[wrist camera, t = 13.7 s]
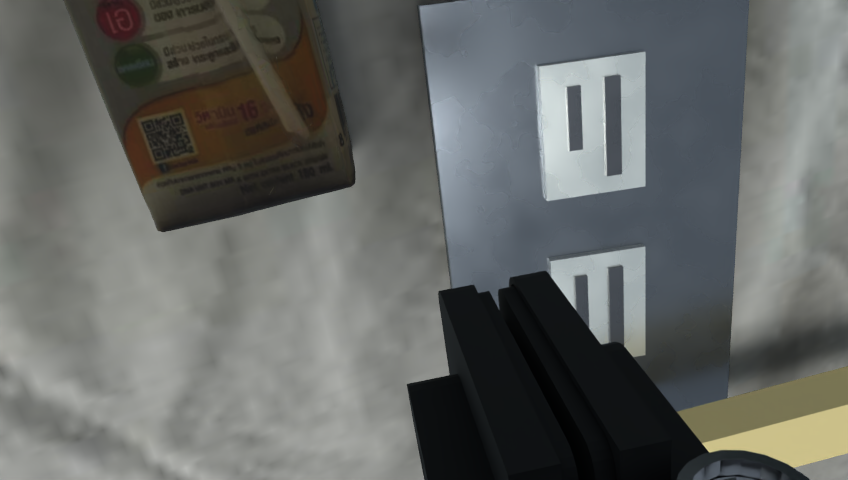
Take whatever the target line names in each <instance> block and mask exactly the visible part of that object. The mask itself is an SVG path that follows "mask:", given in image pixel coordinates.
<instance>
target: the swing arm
mask: <svg viewBox="0 0 848 480" xmlns="http://www.w3.org/2000/svg"><path fill="white" fill-rule="evenodd" d="M677 413H678V414H679V415H680V416H681V418H682V419H683V420H684V421H685V423H686V424H687V425H688V426H689V428H690V429H691V430H692V431H693V433H694V434H695V435H696V436H697V438H698V439H699V440H700V442H701V443H702V444H703V445H704V447H705V448H706V449H707V450H708V452H709V453H710V452H714V451H719V450H745V451H749V452H754V453H759V454H764V455H767V456H769V457H772V458H774V459H777V460H779V461H782V462H784V463H786V464H788V465H790V466H791V467H793V468H794V467H798V466H801V465H805V464H809V463H813V462H816V461H820V460H824V459H828V458H831V457H835V456H839V455H843V454H846V453H848V366H847V367H843V368H839V369H835V370H832V371H828V372H824V373H820V374H817V375H813V376H809V377H805V378H802V379H798V380H794V381H790V382H787V383H783V384H779V385H775V386H771V387H768V388H764V389H760V390H756V391H753V392H749V393H745V394H741V395H738V396H734V397H730V398H726V399H723V400H719V401H715V402H711V403H708V404H704V405H700V406H696V407H693V408H689V409H685V410H681V411H678V412H677Z"/></svg>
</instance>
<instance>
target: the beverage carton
mask: <svg viewBox="0 0 848 480" xmlns="http://www.w3.org/2000/svg"><path fill="white" fill-rule="evenodd" d="M64 3H65V5H66V8H67V10H68V13H69V15H70V18H71V20H72V23H73V25H74V28H75V31H76V33H77V36H78V38H79V41H80V43H81V46H82V48H83V51H84V53H85V56H86V58H87V61H88V63H89V66H90V68H91V71H92V73H93V76H94V78H95V80H96V83H97V85H98V88H99V90H100V93H101V95H102V98H103V100H104V103H105V105H106V108H107V110H108V113H109V115H110V117H111V120H112V122H113V125H114V127H115V130H116V132H117V135H118V137H119V139H120V142H121V144H122V147H123V149H124V152H125V154H126V156H127V159H128V161H129V163H130V166H131V168H132V170H133V173H134V175H135V178H136V180H137V183H138V185H139V188H140V190H141V193H142V195H143V197H144V199H145V201H146V204H147V206H148V208H149V210H150V212H151V215H152V217H153V220H154V222H155V225H156V228H157V230H158V231H161V232H166V231H171V230H175V229H180V228H184V227H189V226H194V225H198V224H203V223H207V222H212V221H216V220H221V219H225V218H230V217H234V216H239V215H243V214H246V213H250V212H254V211H258V210H262V209H266V208H269V207H273V206H277V205H281V204H284V203H288V202H292V201H296V200H300V199H304V198H308V197H312V196H316V195H320V194H324V193H328V192H332V191H336V190H340V189H344V188H348V187H351V186H353V185H354V184H355V167H354V160H353V154H352V145H351V140H350V136H349V132H348V128H347V122H346V117H345V113H344V109H343V105H342V101H341V97H340V93H339V89H338V85H337V81H336V77H335V73H334V68H333V64H332V60H331V56H330V52H329V48H328V44H327V40H326V36H325V32H324V29H323V25H322V21H321V18H320V14H319V10H318V6H317V2H316V0H64Z"/></svg>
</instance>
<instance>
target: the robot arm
mask: <svg viewBox="0 0 848 480" xmlns="http://www.w3.org/2000/svg"><path fill="white" fill-rule="evenodd" d="M438 295H439V304H440V311H441V318H442V325H443V332H444V339H445V345H446V352H447V359H448V366H449V373H450V375H449V376H444V377H439V378H435V379H430V380H425V381H420V382H415V383H410V384H407V388H408V394H409V400H410V405H411V411H412V416H413V422H414V427H415V433H416V438H417V444H418V449H419V454H420V459H421V464H422V469H423V475H424V479H425V480H810V479H809V478H808V477H806V476H805V475H803V474H802V473H800V472H799V471H797V470H796V469H794V468H793V467H791V466H790V465H788V464H786V463H784V462H782V461H779V460H777V459H774V458H772V457H769V456H767V455H764V454H759V453H754V452H749V451H745V450H719V451H714V452H710V453H709V452H708V450H707V449H706V448H705V447H704V445H703V444H702V443H701V442H700V440H699V439H698V438H697V436H696V435H695V434H694V433H693V431H692V430H691V429H690V428H689V426H688V425H687V424H686V423H685V421H684V420H683V419H682V418H681V416H680V415H679V414H678V413H677V411H676V410H675V409H674V408H673V406H672V405H671V404H670V403H669V401H668V400H667V399H666V398H665V396H664V395H663V394H662V393H661V391H660V390H659V389H658V388H657V386H656V385H655V384H654V383H653V381H652V380H651V379H650V378H649V376H648V375H647V374H646V373H645V371H644V370H643V369H642V368H641V366H640V365H639V364H638V363H637V361H636V360H635V359H634V358H633V356H632V355H631V354H630V353H629V351H628V350H627V349H626V348H625V347H624V346H623V345H622V344H621V343H619V342H611V343H606V344H600V342H599V341H598V340H597V338H596V337H595V336H594V334H593V333H592V331H591V330H590V329H589V327H588V326H587V325H586V323H585V322H584V321H583V319H582V318H581V317H580V315H579V314H578V313H577V311H576V310H575V309H574V307H573V306H572V305H571V303H570V302H569V300H568V299H567V298H566V296H565V295H564V294H563V292H562V291H561V290H560V288H559V287H558V286H557V284H556V283H555V282H554V280H553V279H552V278H551V276H550V275H549V274H548V272H546V271H540V272H535V273H530V274H525V275H520V276H514V277H510V279H509V287H506V288H501V289H499V290H498V300H499V308H498V307H497V305H496V303H495V301H494V299H493V297H492V295H491V293H490V292H489V291H486V292H480V293H478V292H477V289H476V287H475V286H474V285H468V286H463V287H458V288H453V289H447V290H442V291H439V293H438Z"/></svg>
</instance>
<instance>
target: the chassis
mask: <svg viewBox="0 0 848 480" xmlns="http://www.w3.org/2000/svg"><path fill="white" fill-rule="evenodd" d="M417 9H418V17H419V26H420V34H421V42H422V50H423V59H424V67H425V75H426V84H427V92H428V100H429V109H430V117H431V125H432V134H433V142H434V150H435V159H436V167H437V175H438V184H439V192H440V200H441V209H442V217H443V225H444V234H445V242H446V250H447V259H448V267H449V275H450V284H451V289H453V288H458V287H463V286H468V285H474V286H475V287H476V289H477V292H478V293H480V292H486V291H489V292H490V293H491V295H492V297H493V299H494V301H495V303H496V305H497V307H498V308H499V300H498V290H499V289H501V288H506V287H509V279H510V277H514V276H520V275H525V274H530V273H535V272H540V271H546V272H548V274H549V275H550V276H551V278H552V279H553V280H554V282H555V283H556V284H557V286H558V287H559V288H560V290H561V291H562V292H563V294H564V295H565V296H566V298H567V299H568V300H569V302H570V303H571V305H572V306H573V307H574V309H575V310H576V311H577V313H578V314H579V315H580V317H581V318H582V319H583V321H584V322H585V323H586V325H587V326H588V327H589V329H590V330H591V331H592V333H593V334H594V336H595V337H596V338H597V340H598V341H599V342H600V344H606V343H611V342H619V343H621V344H622V345H623V346H624V347H625V348H626V349H627V350H628V351H629V353H630V354H631V355H632V356H633V358H634V359H635V360H636V361H637V363H638V364H639V365H640V366H641V368H642V369H643V370H644V371H645V373H646V374H647V375H648V376H649V378H650V379H651V380H652V381H653V383H654V384H655V385H656V386H657V388H658V389H659V390H660V391H661V393H662V394H663V395H664V396H665V398H666V399H667V400H668V401H669V403H670V404H671V405H672V406H673V408H674V409H675V410H676V411H677V412H678V411H681V410H685V409H689V408H693V407H696V406H700V405H704V404H708V403H711V402H715V401H719V400H723V399H726V398H727V395H728V377H729V358H730V340H731V322H732V303H733V285H734V267H735V249H736V230H737V212H738V194H739V175H740V157H741V139H742V120H743V102H744V84H745V65H746V47H747V29H748V11H749V0H456V1H448V2H441V3H433V4H426V5H419V6H417Z"/></svg>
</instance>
